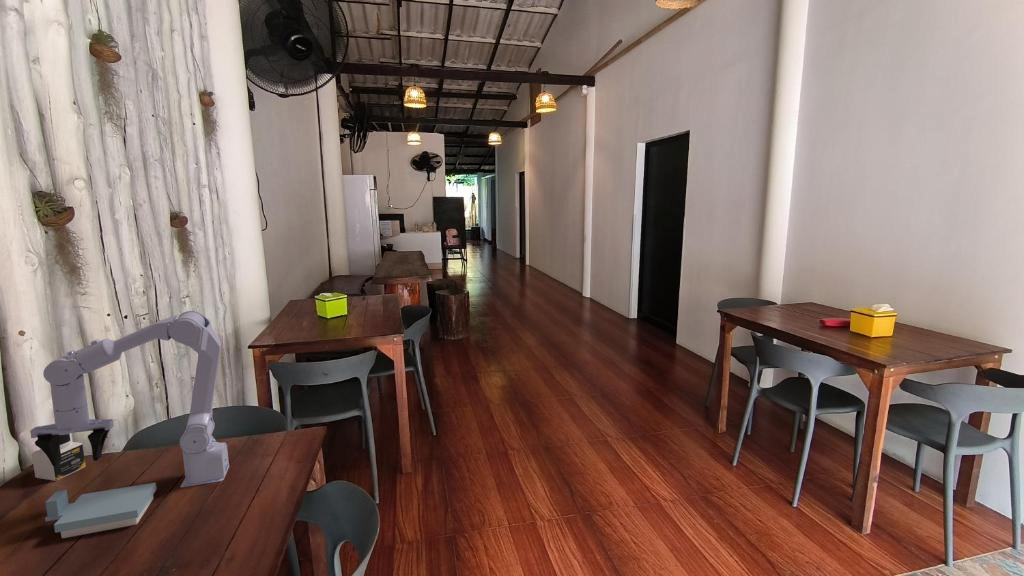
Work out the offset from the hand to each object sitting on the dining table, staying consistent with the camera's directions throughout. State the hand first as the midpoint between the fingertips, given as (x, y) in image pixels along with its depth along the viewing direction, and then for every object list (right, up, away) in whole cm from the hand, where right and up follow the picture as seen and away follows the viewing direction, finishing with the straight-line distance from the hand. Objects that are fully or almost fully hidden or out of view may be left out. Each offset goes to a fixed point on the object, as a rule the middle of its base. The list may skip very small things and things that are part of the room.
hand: (77, 461), depth 108 cm
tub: (+12, -12, -4) cm, 17 cm away
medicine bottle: (-18, -9, +14) cm, 24 cm away
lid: (+10, -9, -5) cm, 15 cm away
